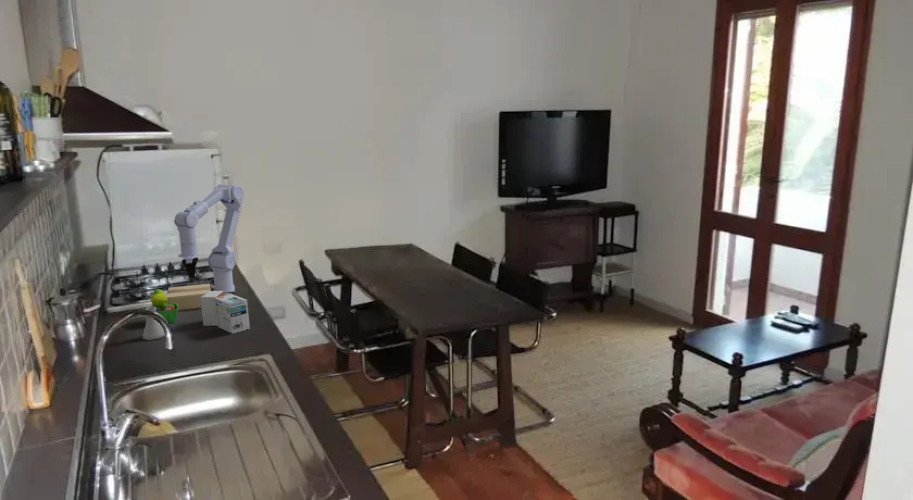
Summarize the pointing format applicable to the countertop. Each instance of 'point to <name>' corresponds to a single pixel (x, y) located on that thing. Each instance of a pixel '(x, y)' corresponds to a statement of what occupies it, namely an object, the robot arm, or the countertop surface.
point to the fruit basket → (164, 306)
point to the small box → (210, 307)
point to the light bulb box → (232, 313)
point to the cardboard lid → (188, 291)
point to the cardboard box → (186, 302)
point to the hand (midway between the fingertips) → (192, 277)
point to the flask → (152, 328)
